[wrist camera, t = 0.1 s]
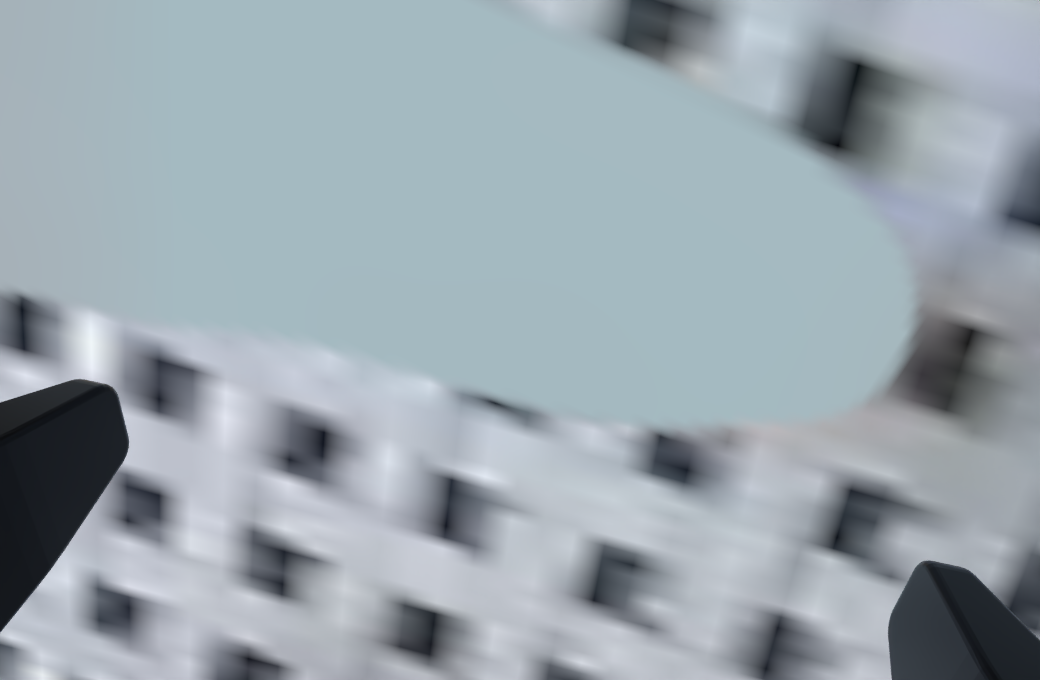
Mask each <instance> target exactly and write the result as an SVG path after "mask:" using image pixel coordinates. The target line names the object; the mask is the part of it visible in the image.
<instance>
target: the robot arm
mask: <svg viewBox="0 0 1040 680" xmlns="http://www.w3.org/2000/svg"><path fill="white" fill-rule="evenodd" d="M128 448H129V438H128V433H127V429H126V425H125V421H124V417H123V413H122V409H121V405H120V401H119V397H118V394H117V392H116V391H115V390H114V389H113V387H111V386H109V385H107V384H102V383H98V382H93V381H88V380H82V379H76V380H71V381H68V382H65V383H61V384H58V385H55V386H52V387H49V388H45V389H42V390H39V391H36V392H33V393H29V394H26V395H23V396H20V397H17V398H14V399H10V400H7V401H4V402H1V403H0V632H1V631H2V630H3V629H4V627H5V626H6V625H7V624H8V622H9V621H10V620H11V619H12V617H13V616H14V615H15V614H16V613H17V611H18V610H19V609H20V608H21V606H22V605H23V604H24V603H25V601H26V600H27V599H28V598H29V596H30V595H31V594H32V593H33V592H34V590H35V589H36V588H37V587H38V585H39V584H40V583H41V581H42V580H43V579H44V578H45V576H46V575H47V574H48V572H49V571H50V570H51V568H52V567H53V566H54V564H55V563H56V561H57V560H58V558H59V557H60V556H61V554H62V553H63V551H64V550H65V548H66V547H67V545H68V544H69V542H70V541H71V539H72V538H73V536H74V535H75V533H76V532H77V530H78V529H79V527H80V526H81V524H82V523H83V521H84V520H85V518H86V517H87V515H88V514H89V512H90V511H91V509H92V508H93V506H94V505H95V503H96V502H97V500H98V499H99V497H100V496H101V494H102V493H103V491H104V490H105V488H106V487H107V485H108V484H109V482H110V481H111V479H112V478H113V476H114V475H115V473H116V472H117V470H118V469H119V467H120V466H121V464H122V463H123V461H124V459H125V457H126V455H127V452H128ZM888 640H889V652H890V663H891V675H892V680H1040V640H1039V639H1038V638H1037V637H1036V636H1035V635H1034V634H1033V633H1032V632H1031V631H1030V630H1029V629H1028V628H1027V627H1026V626H1025V625H1024V624H1023V623H1022V622H1021V621H1020V620H1019V619H1018V618H1017V617H1016V616H1015V615H1014V614H1013V613H1012V612H1011V611H1010V610H1009V609H1008V608H1007V607H1006V606H1005V605H1004V604H1003V603H1002V602H1001V601H1000V600H999V599H998V598H997V597H996V596H995V595H994V594H993V593H992V592H991V591H990V590H989V589H988V588H987V587H986V586H985V585H984V584H983V583H982V582H981V581H980V580H979V579H978V578H977V577H976V576H975V575H974V574H973V573H971V572H970V571H969V570H967V569H965V568H962V567H958V566H953V565H949V564H944V563H939V562H935V561H923V562H921V563H920V564H919V565H917V567H916V568H915V569H914V571H913V573H912V575H911V577H910V579H909V581H908V582H907V584H906V586H905V588H904V590H903V592H902V594H901V596H900V598H899V599H898V601H897V603H896V605H895V607H894V609H893V611H892V613H891V617H890V620H889V627H888Z"/></svg>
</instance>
